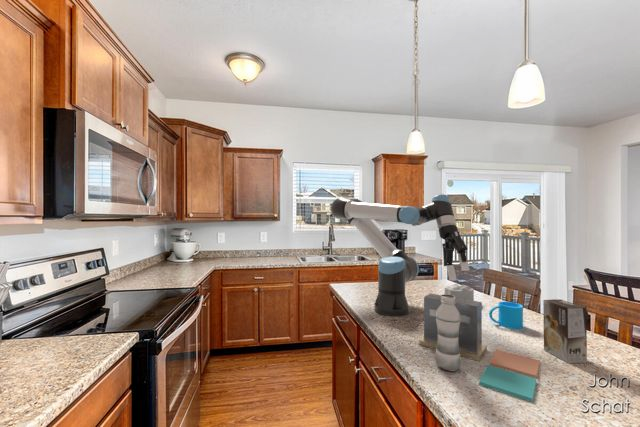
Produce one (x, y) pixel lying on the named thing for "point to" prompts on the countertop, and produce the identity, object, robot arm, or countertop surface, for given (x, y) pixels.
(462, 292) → the lumpy-topped squat cylinder
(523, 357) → the terracotta pad
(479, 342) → the box
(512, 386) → the teal pad
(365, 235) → the robot arm
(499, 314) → the mug
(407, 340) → the countertop surface
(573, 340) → the coffee box
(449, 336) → the plastic bottle
